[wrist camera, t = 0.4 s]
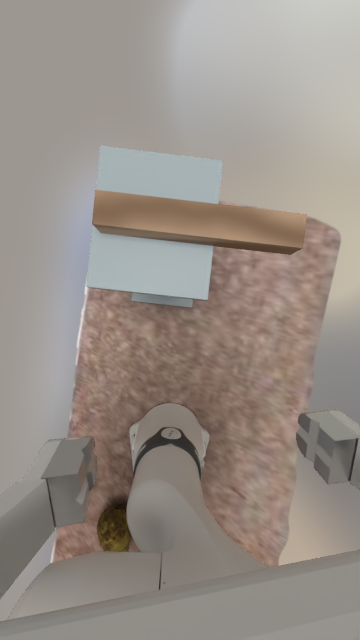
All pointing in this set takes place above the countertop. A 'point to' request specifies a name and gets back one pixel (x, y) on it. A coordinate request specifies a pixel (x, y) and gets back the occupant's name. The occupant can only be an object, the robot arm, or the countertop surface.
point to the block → (198, 222)
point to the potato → (114, 529)
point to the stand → (151, 254)
